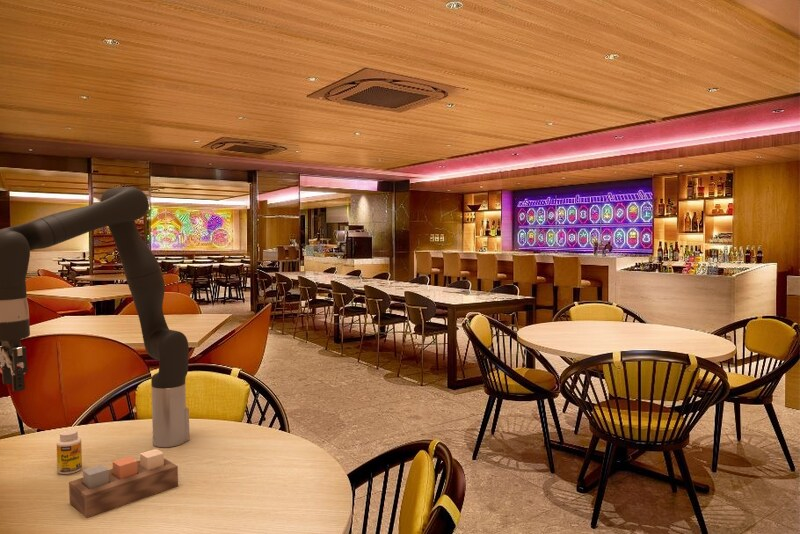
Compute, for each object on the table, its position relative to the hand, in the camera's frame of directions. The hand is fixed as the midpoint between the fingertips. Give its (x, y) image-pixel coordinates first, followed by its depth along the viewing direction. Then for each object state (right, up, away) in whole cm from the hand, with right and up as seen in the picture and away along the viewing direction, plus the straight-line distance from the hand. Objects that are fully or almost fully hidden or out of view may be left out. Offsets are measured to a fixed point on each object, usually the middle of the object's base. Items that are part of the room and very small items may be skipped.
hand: (13, 387), depth 135 cm
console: (+24, -26, +3) cm, 36 cm away
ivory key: (+29, -22, +8) cm, 37 cm away
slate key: (+20, -22, -2) cm, 30 cm away
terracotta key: (+24, -22, +3) cm, 33 cm away
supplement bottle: (+4, -25, +16) cm, 30 cm away
